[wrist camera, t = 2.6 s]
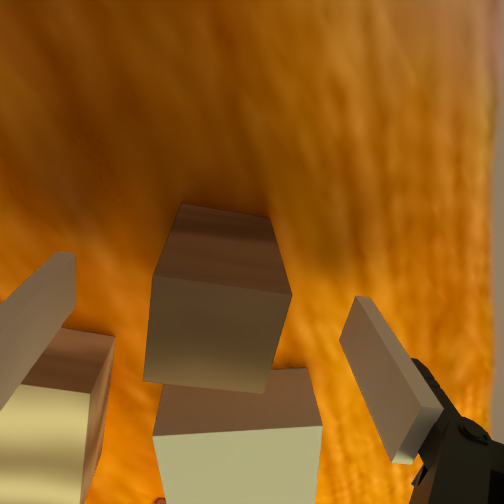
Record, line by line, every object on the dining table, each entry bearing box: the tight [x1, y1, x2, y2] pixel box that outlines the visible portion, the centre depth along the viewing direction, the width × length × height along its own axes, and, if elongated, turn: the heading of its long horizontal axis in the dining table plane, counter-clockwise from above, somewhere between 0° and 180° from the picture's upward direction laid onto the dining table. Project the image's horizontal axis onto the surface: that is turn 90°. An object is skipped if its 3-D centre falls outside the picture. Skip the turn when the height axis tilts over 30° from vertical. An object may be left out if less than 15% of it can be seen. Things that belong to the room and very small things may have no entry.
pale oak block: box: [0, 328, 116, 504], centre depth 23 cm, size 12×10×5 cm
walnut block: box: [143, 203, 292, 394], centre depth 17 cm, size 5×5×8 cm
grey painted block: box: [152, 368, 323, 504], centre depth 26 cm, size 12×10×5 cm
